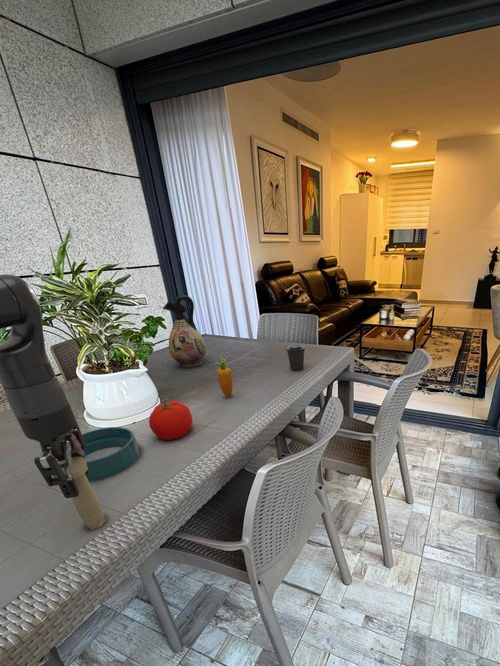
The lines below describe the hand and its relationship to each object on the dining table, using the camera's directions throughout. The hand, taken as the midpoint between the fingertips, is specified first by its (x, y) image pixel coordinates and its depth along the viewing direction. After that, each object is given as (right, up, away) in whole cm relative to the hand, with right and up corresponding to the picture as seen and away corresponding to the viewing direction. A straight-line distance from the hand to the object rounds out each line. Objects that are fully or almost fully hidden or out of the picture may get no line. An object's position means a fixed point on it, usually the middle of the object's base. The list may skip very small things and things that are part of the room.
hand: (78, 484), depth 67 cm
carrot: (+13, +21, +59) cm, 64 cm away
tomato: (+3, +8, +37) cm, 38 cm away
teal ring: (-11, +1, +25) cm, 28 cm away
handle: (0, -10, +5) cm, 11 cm away
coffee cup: (+36, +35, +83) cm, 97 cm away
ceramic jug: (-12, +39, +93) cm, 102 cm away
